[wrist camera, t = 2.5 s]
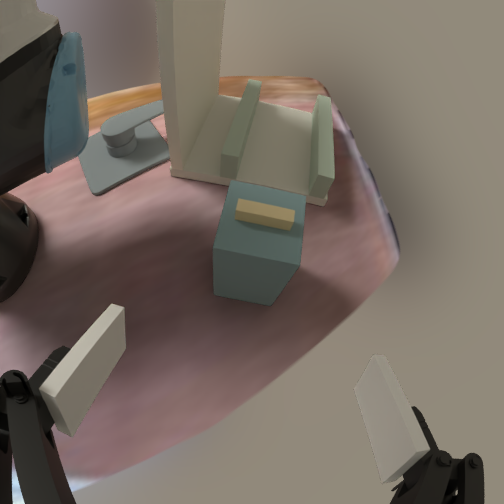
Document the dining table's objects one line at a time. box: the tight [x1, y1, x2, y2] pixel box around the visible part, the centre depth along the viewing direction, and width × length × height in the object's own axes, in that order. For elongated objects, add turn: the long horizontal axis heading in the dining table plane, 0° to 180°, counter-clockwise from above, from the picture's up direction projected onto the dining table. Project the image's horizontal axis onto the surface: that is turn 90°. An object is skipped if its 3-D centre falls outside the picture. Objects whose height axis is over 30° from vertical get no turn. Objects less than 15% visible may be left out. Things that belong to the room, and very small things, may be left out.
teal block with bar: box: [213, 180, 306, 306], centre depth 25 cm, size 6×6×12 cm
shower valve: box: [78, 100, 170, 195], centre depth 34 cm, size 12×6×15 cm
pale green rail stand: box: [156, 0, 335, 207], centre depth 28 cm, size 20×18×24 cm
